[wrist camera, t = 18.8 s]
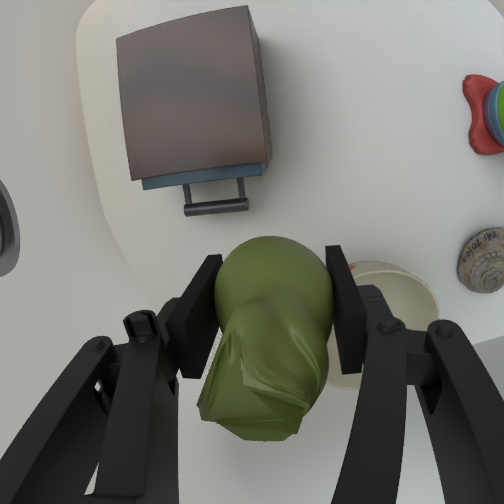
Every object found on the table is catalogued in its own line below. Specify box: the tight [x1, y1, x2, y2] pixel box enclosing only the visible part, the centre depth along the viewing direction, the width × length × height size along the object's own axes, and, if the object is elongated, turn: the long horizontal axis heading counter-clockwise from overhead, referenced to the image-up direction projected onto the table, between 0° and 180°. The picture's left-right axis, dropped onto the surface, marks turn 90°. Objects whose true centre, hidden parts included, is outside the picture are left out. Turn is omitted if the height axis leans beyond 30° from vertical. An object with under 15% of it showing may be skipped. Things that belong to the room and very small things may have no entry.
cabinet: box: [116, 5, 272, 181], centre depth 28 cm, size 15×13×10 cm
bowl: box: [326, 261, 440, 390], centre depth 35 cm, size 16×16×10 cm
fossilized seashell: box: [458, 228, 504, 293], centre depth 33 cm, size 11×11×7 cm
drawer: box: [141, 162, 268, 217], centre depth 30 cm, size 18×12×8 cm, turn 7°
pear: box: [197, 236, 335, 441], centre depth 12 cm, size 6×5×10 cm
